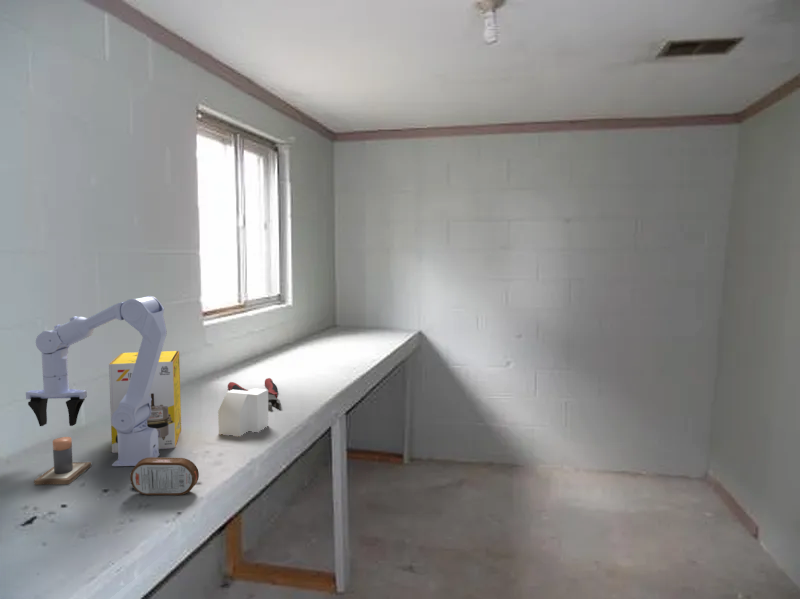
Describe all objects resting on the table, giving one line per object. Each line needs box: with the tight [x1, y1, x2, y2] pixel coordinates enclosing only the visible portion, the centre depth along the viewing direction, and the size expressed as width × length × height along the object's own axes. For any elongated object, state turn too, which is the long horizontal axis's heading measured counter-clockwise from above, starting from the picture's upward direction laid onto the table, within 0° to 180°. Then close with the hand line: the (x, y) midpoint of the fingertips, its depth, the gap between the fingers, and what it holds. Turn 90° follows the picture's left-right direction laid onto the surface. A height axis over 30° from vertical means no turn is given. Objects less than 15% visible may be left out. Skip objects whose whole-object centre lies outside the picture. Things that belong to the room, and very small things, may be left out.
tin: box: [129, 457, 200, 496], centre depth 128 cm, size 15×3×8 cm, turn 92°
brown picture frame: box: [33, 461, 92, 486], centre depth 138 cm, size 8×11×1 cm
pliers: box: [227, 377, 282, 412], centre depth 210 cm, size 37×18×3 cm, turn 29°
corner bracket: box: [217, 387, 269, 437], centre depth 172 cm, size 11×11×12 cm
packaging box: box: [108, 350, 182, 454], centre depth 161 cm, size 16×16×25 cm
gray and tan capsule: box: [52, 436, 73, 474], centre depth 137 cm, size 4×4×8 cm
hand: (58, 424), depth 147 cm, fingers open, 7 cm apart
